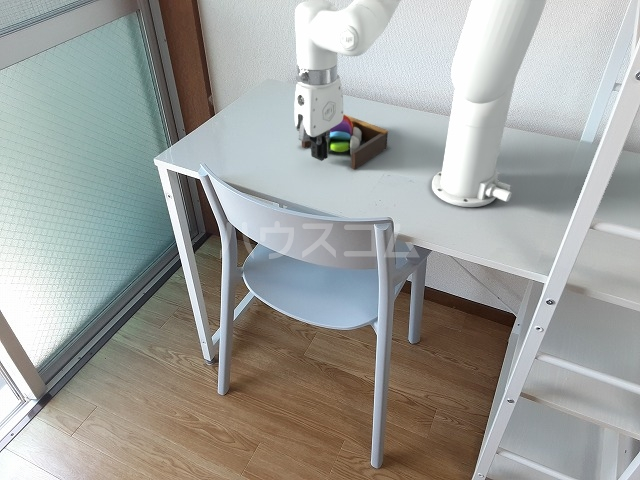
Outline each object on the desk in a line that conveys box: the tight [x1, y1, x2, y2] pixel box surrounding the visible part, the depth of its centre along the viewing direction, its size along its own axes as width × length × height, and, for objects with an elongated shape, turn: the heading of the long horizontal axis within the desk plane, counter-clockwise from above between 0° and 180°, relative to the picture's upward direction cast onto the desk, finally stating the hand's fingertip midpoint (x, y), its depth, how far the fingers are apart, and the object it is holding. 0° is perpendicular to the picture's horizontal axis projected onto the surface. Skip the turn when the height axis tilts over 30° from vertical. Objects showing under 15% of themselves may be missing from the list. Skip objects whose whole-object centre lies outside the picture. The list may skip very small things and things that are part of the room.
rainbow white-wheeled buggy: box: [327, 114, 362, 155], centre depth 112 cm, size 8×10×7 cm
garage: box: [301, 113, 389, 171], centre depth 113 cm, size 15×12×4 cm
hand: (319, 157), depth 109 cm, fingers closed
